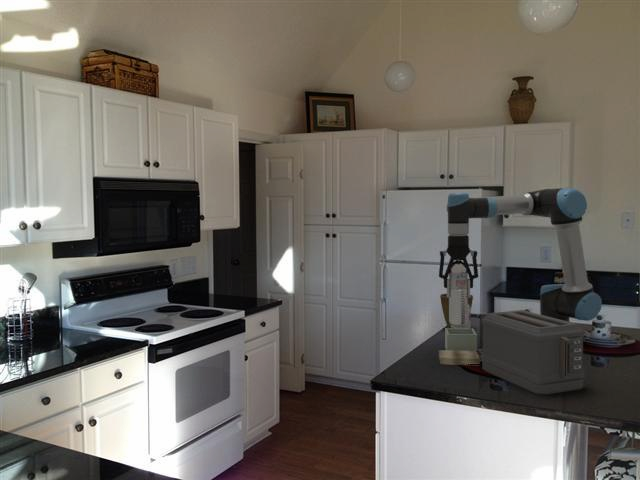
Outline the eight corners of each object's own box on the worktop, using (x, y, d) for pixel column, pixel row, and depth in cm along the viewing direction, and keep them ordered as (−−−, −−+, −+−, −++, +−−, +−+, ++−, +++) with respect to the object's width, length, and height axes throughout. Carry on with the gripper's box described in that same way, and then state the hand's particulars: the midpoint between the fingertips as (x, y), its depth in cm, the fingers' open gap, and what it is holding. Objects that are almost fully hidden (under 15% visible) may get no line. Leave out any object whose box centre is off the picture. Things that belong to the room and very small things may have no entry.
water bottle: (468, 322, 220) (468, 255, 219) (467, 325, 214) (467, 257, 212) (450, 321, 223) (450, 255, 221) (447, 324, 216) (447, 257, 214)
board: (476, 357, 224) (476, 350, 224) (479, 365, 213) (479, 358, 213) (438, 356, 226) (438, 350, 225) (440, 364, 215) (440, 357, 215)
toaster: (544, 398, 178) (544, 331, 176) (478, 368, 209) (478, 312, 208) (592, 390, 184) (593, 326, 182) (521, 362, 216) (521, 308, 214)
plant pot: (476, 332, 264) (476, 297, 263) (443, 333, 265) (443, 298, 264) (468, 325, 279) (468, 292, 278) (437, 326, 280) (437, 292, 278)
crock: (473, 348, 238) (473, 328, 237) (476, 355, 226) (476, 334, 226) (445, 347, 239) (445, 328, 239) (447, 354, 228) (447, 334, 227)
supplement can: (468, 337, 256) (468, 303, 255) (471, 341, 248) (471, 306, 247) (450, 337, 257) (449, 303, 256) (452, 341, 249) (452, 306, 248)
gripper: (484, 234, 218) (484, 295, 220) (430, 234, 221) (430, 295, 223) (487, 235, 211) (487, 298, 212) (431, 235, 214) (431, 298, 215)
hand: (458, 296), depth 218 cm, fingers closed on water bottle, 7 cm apart
